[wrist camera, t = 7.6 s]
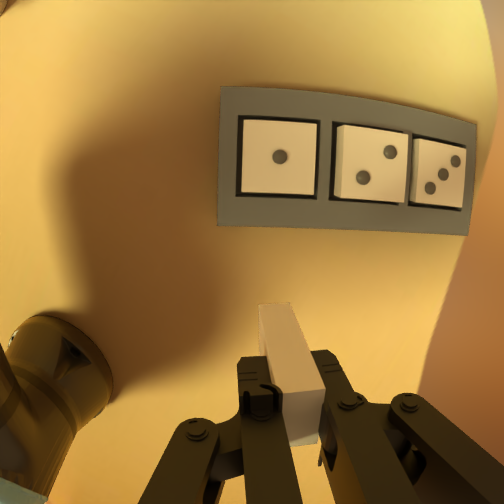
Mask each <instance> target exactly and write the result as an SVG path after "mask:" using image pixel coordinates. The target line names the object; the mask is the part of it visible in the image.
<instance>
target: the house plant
mask: <svg viewBox="0 0 504 504" xmlns="http://www.w3.org/2000/svg"><path fill="white" fill-rule="evenodd" d="M6 3H7V0H0V15H1V14H2V12H3V11H4V9H5V6H6Z"/></svg>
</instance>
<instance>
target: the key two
mask: <svg viewBox="0 0 504 504" xmlns="http://www.w3.org/2000/svg"><path fill="white" fill-rule="evenodd" d="M407 153H408V135H407V134H402V133H396V132H390V131H384V130H377V129H371V128H364V127H356V126H349V125H343V126H339V127H337V145H336V168H335V186H334V195H335V196H337V197H340V198H352V199H366V200H379V201H391V202H402V203H404V198H405V186H406V172H407Z"/></svg>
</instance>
